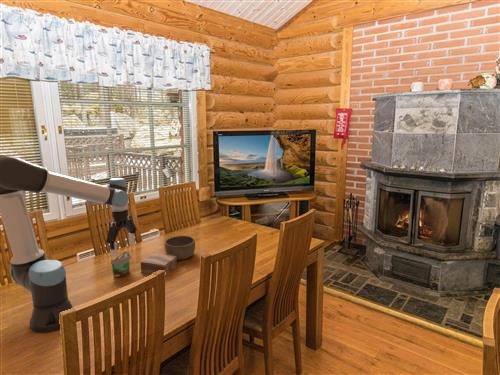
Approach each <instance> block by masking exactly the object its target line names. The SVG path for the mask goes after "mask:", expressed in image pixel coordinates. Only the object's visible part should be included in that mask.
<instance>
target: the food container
mask: <svg viewBox="0 0 500 375" xmlns="http://www.w3.org/2000/svg"><path fill="white" fill-rule="evenodd" d="M131 258H132V257H131V253H130V252H129V251H123V253H122V254H120V255H117V257H116V258H115V259H111V261H110V265H111V268H112V275H113V279H114V278H115V279H120V278H123V277H127V276H128V275H129V274H130V264H131V263H130V260H131Z"/></svg>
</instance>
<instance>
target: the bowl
mask: <svg viewBox="0 0 500 375" xmlns="http://www.w3.org/2000/svg"><path fill="white" fill-rule="evenodd" d="M164 249H165V250H164V251H165V255H170V256H177V261H179V260H186V259H188V258H191V256H193V254H194V253H195V251H196V240H195V238H193V237H192V236H189V235H176V236H172V237H171V236H170V237H169V238H167V239H166V240H165V241H164Z"/></svg>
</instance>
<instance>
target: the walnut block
mask: <svg viewBox="0 0 500 375" xmlns="http://www.w3.org/2000/svg"><path fill="white" fill-rule="evenodd" d="M177 261H178V260H177V256H170V255H167V254H162V253H161V254H160V253H156V252H155V253H152V254H151V255H149V256H147V257H146V258H144V259H143V260H141V261H140V273H141V274H147V275H152V273H153V272H156V271H158V270H165V272H166V276H168V275H169V274H170V273H171V272H173V271H174V270H175V269H176V268H177V267H178V262H177ZM168 273H169V274H168ZM167 274H168V275H167Z"/></svg>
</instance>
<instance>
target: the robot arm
mask: <svg viewBox="0 0 500 375" xmlns="http://www.w3.org/2000/svg"><path fill="white" fill-rule="evenodd" d="M127 190H128V189H127V183H126V179H125V178H123V177H115V178H110V179H109V180H108V184H98V183H94V182H90V181H86V180H83V179H79V178H75V177H72V176H67V175H63V174H59V173H56V172H52V171H49V170H48V169H47V168H46V167H44V166H40V165H39V164H38V165H37V164H34V163H32V162H29V161H26V160H24V159H22V158H19V157H15V156H8V155H4V154H0V218H1V221H2V224H3V227H4V230H5V233H6V237H7V240H8V243H9V245H10V249H11V252H12V257H11V259H10V261H9V262H10V265H11V266H10V270H9V275H10V277H11V278H12V280H13V281H14V282H15V283H16V284H17V285H18V286H20V287H23V288H24V289H25V290H27V291H28V292H30V293H31V298H32V305H33V308H32V312H31V317H30V320H29V327H30V330H31V331H32V332H35V333H50V332H55V331H58V330H61V329H60V324H59V313H60V312H62V311H65V310H68V309H71V308H74V307H73V304H72V303H71V301H70V299H69V293H68V286H67V285H68V284H67V283H68V282H67V275H66V274H67V271H66V268H65V265H64V264H63V262H62V261H60V260H56V259H47V256H46V253H45V251H44V250H43V249H42V248H39V245H38V241H37V238H36V235H35V232H34V228H33V223H32V220H31V216H30V214H29V211H28V207H27V204H26V203H27V202H26V199H25V197H24V192H30V193H36V194H39V193H42V192H44V193H49V194H55V195H58V196H59V195H60V196H64V197H69V198H74V199H79V200H84V201H86V203H87V204H89V205H92V204H97V203H98V204H102V205H105V206H110V207H111V217H112V218H113V220H114V221H113V222H112V221H111V222H109V226H108V231H107V236H106V240H105V243H106V244H109V248H110V253H111V256H114V257H115V256H117V257H118V248H117V242H116V240H117V239H118V238H117V237H118V235H119V232H120V231H121V230H122V229H123V228H125V229H126V230H127V232H128V233H127V235H128V244H129V246H135V245H136V244H135V234H136V233H137V232H136V231H137V230H138V229H137V227H136V225H135V223H134V220H133V216H132V215H130V214H129V209H128V208H129V204H128V203H129V194H128V193H127Z"/></svg>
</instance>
